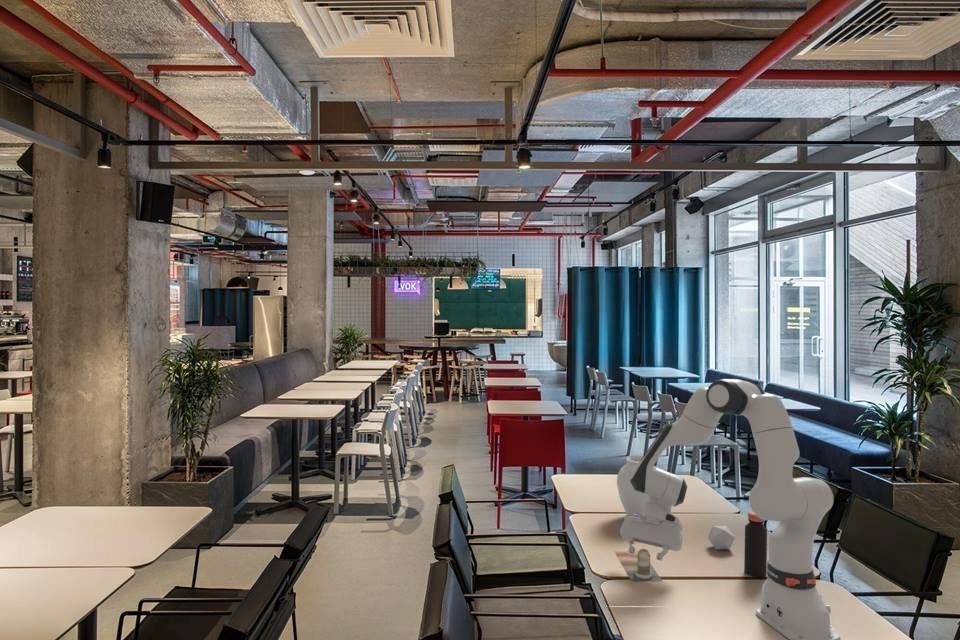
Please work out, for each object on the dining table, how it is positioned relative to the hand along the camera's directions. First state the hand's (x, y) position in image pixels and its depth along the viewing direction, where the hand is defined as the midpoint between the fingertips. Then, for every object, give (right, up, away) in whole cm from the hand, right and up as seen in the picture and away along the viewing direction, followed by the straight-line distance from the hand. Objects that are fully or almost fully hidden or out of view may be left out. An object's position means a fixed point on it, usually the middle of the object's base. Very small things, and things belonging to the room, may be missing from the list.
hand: (644, 555), depth 203 cm
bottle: (+37, -7, +2) cm, 38 cm away
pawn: (-1, -6, -1) cm, 6 cm away
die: (+34, -6, +23) cm, 42 cm away
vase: (+12, -5, +54) cm, 56 cm away
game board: (-1, -6, +7) cm, 9 cm away
